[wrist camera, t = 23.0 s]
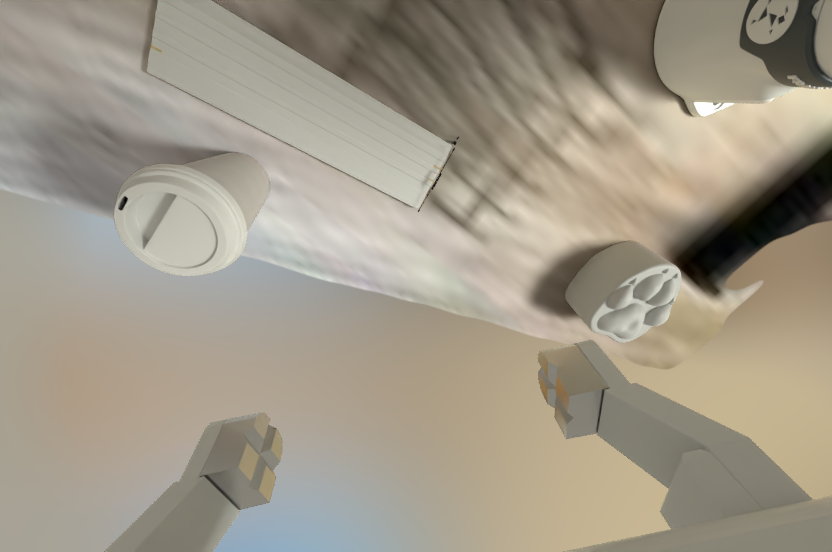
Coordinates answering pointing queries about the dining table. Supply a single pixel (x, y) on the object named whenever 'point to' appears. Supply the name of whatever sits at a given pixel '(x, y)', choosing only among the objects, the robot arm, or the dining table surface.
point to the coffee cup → (191, 212)
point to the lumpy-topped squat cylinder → (624, 291)
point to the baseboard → (292, 98)
